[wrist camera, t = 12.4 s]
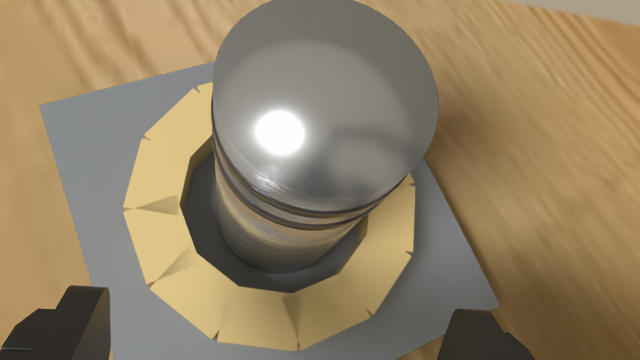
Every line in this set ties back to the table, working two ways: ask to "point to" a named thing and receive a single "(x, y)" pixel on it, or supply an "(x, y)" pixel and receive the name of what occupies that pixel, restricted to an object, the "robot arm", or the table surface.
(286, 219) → the piston
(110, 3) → the table surface
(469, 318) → the robot arm
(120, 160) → the ring block
